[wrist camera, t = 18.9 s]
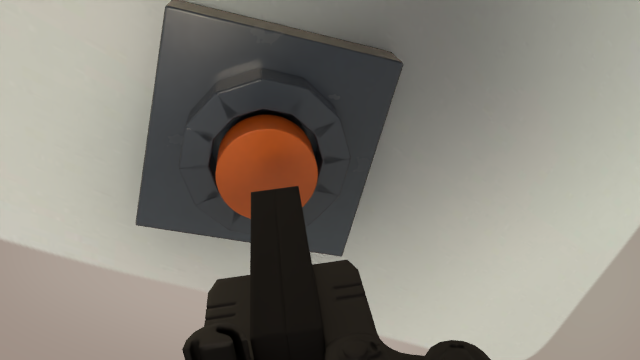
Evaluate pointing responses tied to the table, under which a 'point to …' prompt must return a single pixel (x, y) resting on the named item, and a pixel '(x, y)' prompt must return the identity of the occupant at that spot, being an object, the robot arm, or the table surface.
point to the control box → (257, 99)
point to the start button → (264, 161)
